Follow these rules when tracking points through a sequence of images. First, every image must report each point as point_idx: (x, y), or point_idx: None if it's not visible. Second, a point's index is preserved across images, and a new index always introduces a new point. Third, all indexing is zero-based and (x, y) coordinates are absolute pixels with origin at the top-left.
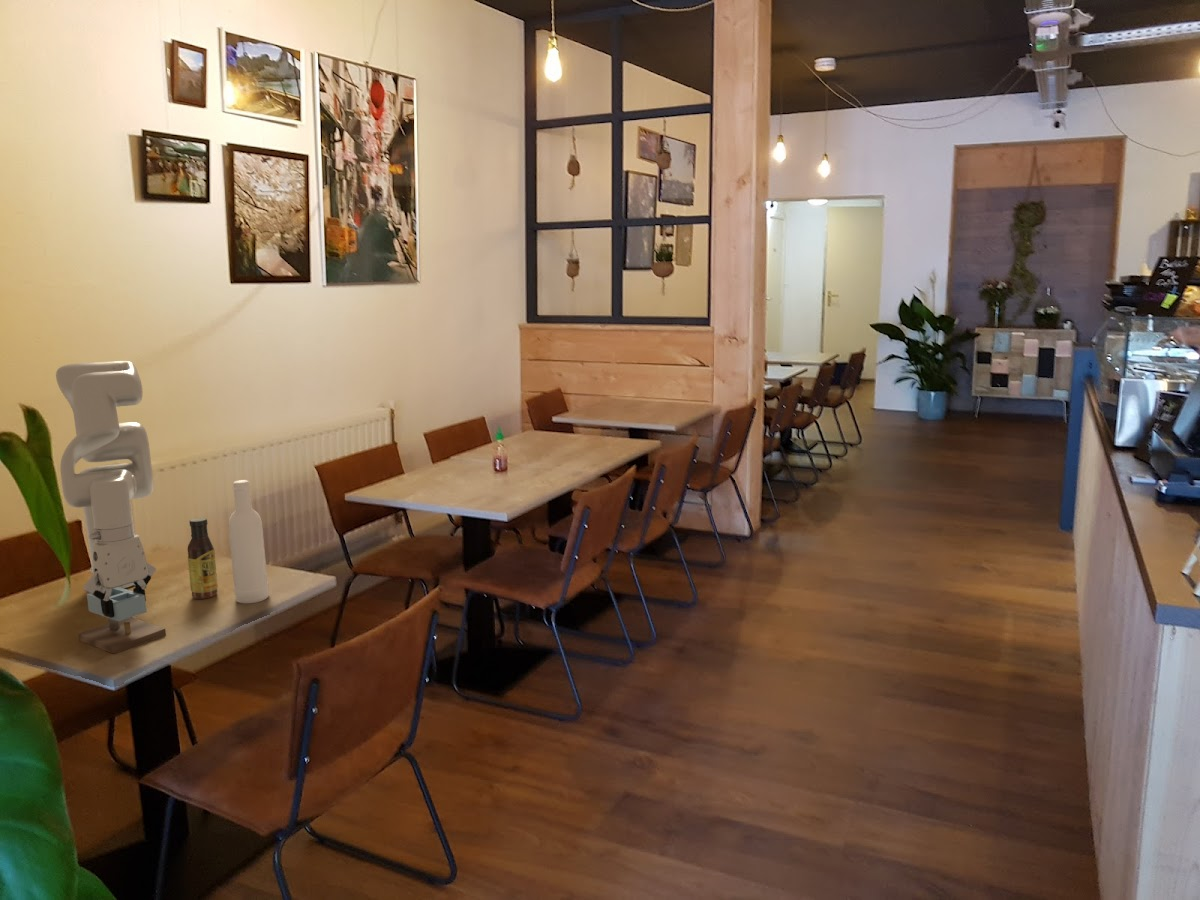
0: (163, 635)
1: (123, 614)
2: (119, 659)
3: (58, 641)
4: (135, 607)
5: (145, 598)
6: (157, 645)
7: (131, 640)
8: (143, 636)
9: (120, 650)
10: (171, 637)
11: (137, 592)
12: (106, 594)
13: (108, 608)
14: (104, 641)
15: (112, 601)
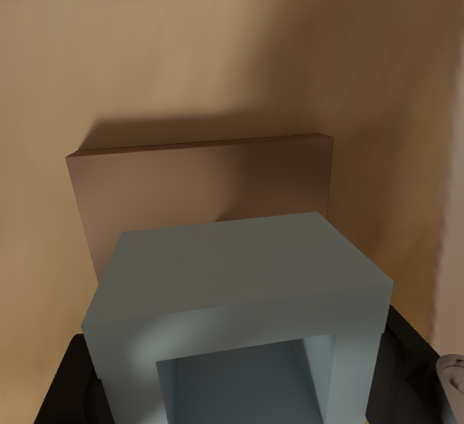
0: (89, 150)
1: (293, 230)
2: (342, 51)
3: None
4: (199, 253)
5: (69, 349)
6: (161, 55)
7: (246, 146)
8: (187, 149)
9: (293, 135)
10: (68, 95)
11: (111, 420)
12: None
13: None
14: None
15: (389, 343)
